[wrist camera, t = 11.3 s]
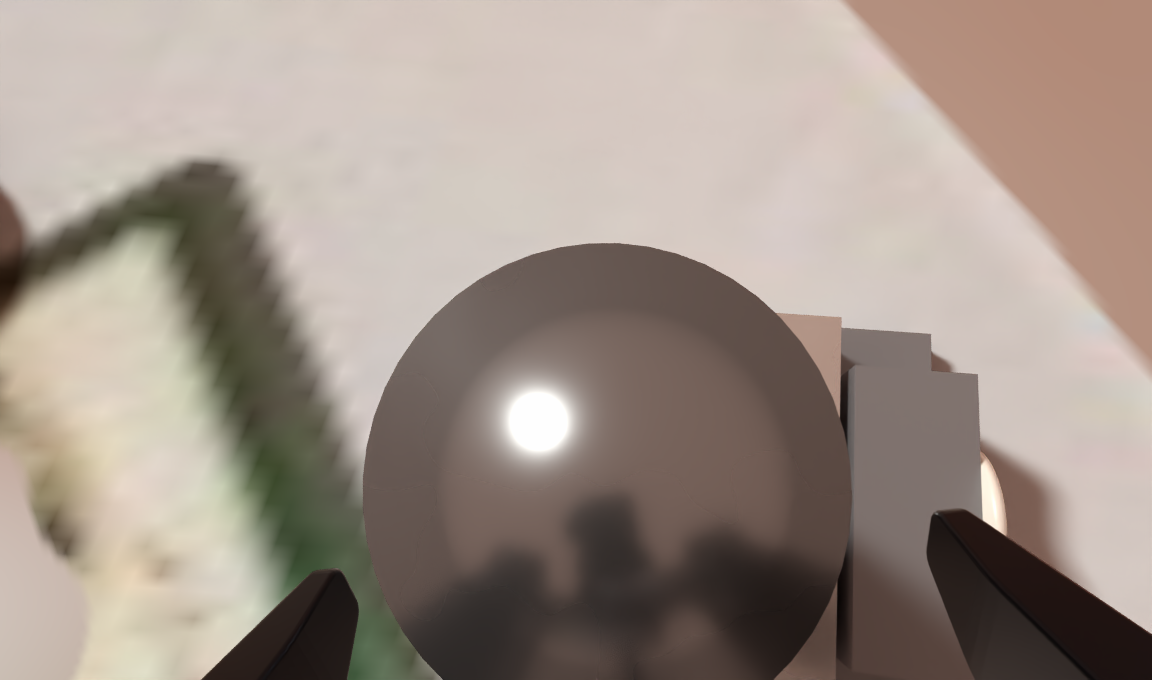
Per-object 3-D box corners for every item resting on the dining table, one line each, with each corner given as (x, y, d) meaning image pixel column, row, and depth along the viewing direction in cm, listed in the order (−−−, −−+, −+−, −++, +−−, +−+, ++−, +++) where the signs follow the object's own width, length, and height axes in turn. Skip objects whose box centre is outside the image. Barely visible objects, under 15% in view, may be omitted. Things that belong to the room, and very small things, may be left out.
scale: (931, 343, 22) (1003, 299, 18) (937, 726, 20) (1025, 797, 15) (500, 313, 25) (461, 267, 20) (451, 649, 22) (392, 689, 17)
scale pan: (821, 338, 22) (841, 317, 19) (813, 701, 19) (834, 729, 17) (501, 315, 23) (483, 293, 21) (454, 645, 21) (426, 663, 18)
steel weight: (757, 455, 18) (934, 369, 6) (678, 618, 18) (710, 866, 6) (603, 376, 20) (510, 176, 8) (522, 526, 19) (274, 568, 7)
